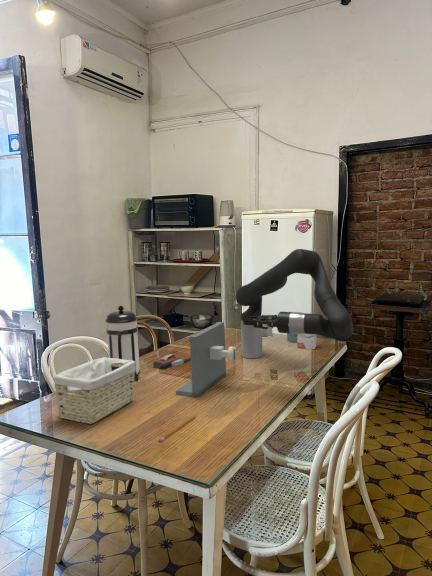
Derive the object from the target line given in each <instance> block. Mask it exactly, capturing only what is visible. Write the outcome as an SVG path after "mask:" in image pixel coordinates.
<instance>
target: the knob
mask: <svg viewBox="0 0 432 576" xmlns="http://www.w3.org/2000/svg"><path fill="white" fill-rule="evenodd" d="M220 355H221V357H226V358H227V361H228V362H230V363H231V362H235V361H236V360H237V359H236V358H237V355H238V353H237V348H236V346H231V345H230V346H228V349H225V350H221V351H220Z"/></svg>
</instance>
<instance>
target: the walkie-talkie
mask: <svg viewBox="0 0 432 576" xmlns="http://www.w3.org/2000/svg"><path fill="white" fill-rule="evenodd" d="M189 360H191V356H188V357H186V358H184V359H183V358H180V357H179V356H176V354H174V353H169V354H166V355H164V356H163V357H160V359H157V360H155V361H153V369H154V368H155V369H159V370H166V369H169V368H170V367H171V368H172V367H178V366H181V365H183V364H184V363H185V362H186V361H187V362H188V361H189Z"/></svg>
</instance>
